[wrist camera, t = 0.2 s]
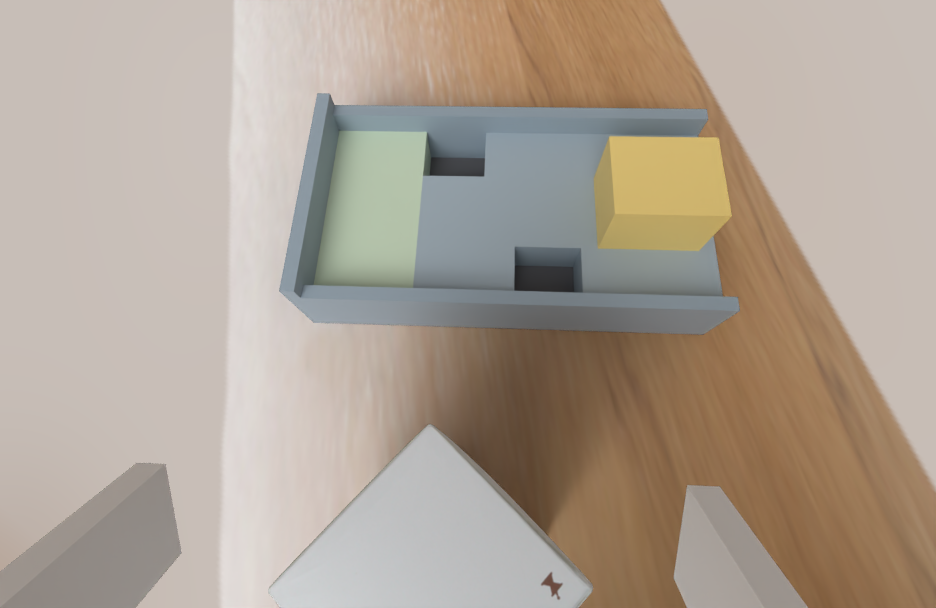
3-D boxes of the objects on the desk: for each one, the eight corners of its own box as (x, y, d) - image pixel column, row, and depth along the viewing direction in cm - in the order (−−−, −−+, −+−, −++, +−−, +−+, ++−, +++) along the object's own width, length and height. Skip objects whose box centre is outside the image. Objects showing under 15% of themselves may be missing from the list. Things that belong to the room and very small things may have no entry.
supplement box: (455, 440, 28) (434, 412, 16) (549, 539, 26) (605, 592, 14) (360, 537, 26) (257, 588, 14) (453, 651, 24) (424, 820, 12)
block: (698, 250, 28) (731, 216, 24) (597, 248, 28) (615, 213, 25) (688, 180, 30) (718, 137, 26) (593, 178, 30) (609, 136, 26)
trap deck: (703, 334, 29) (749, 304, 24) (313, 322, 31) (279, 291, 25) (679, 154, 34) (713, 97, 29) (341, 149, 35) (317, 93, 30)
